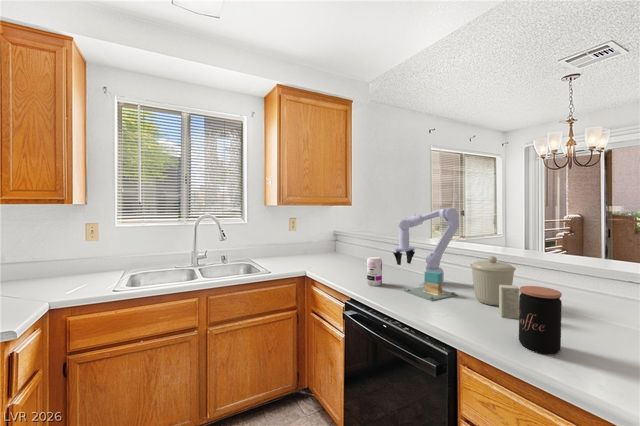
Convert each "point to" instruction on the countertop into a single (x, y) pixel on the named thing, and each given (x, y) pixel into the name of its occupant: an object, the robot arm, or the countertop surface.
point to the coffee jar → (540, 319)
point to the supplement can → (374, 271)
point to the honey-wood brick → (433, 288)
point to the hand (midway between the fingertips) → (403, 264)
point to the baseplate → (430, 294)
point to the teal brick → (433, 277)
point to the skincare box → (509, 301)
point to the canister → (490, 279)
